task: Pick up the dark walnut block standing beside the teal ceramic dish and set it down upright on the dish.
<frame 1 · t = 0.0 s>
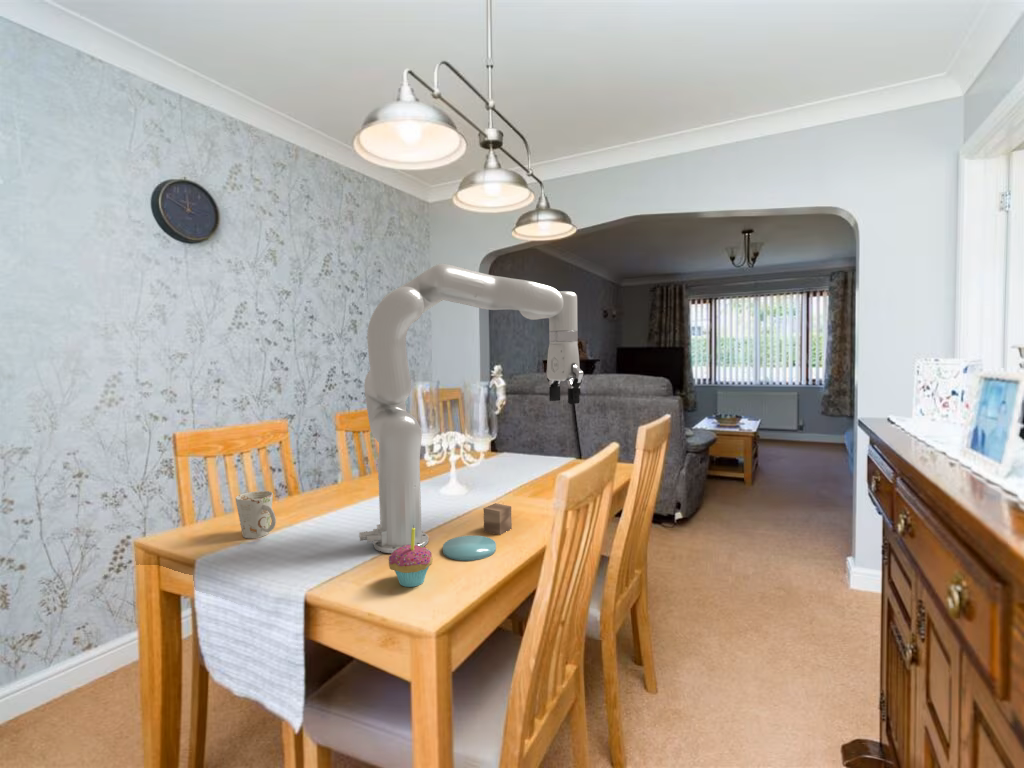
hand: (564, 402, 138), 31 cm above the table, tool pointing down, fingers open, 9 cm apart
teal dish: (469, 550, 117), on the table
mug: (261, 536, 128), on the table
cupcake: (411, 582, 101), on the table
walnut block: (497, 530, 129), on the table
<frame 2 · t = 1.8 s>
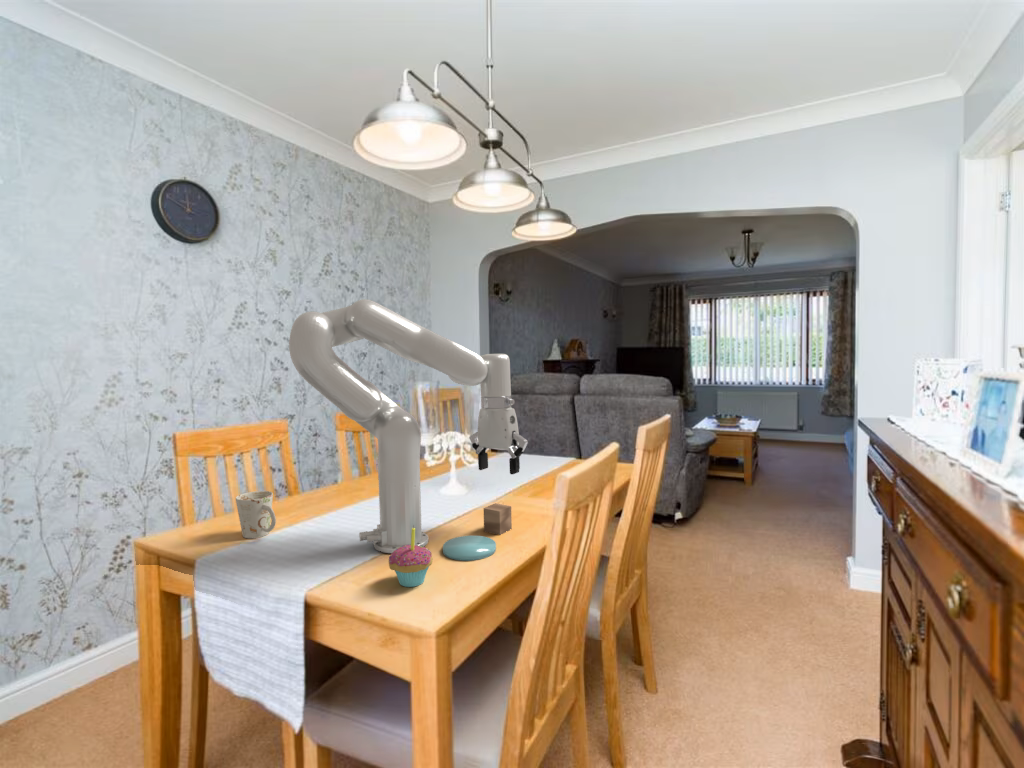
hand: (498, 471, 129), 15 cm above the table, tool pointing down, fingers open, 9 cm apart
nothing on the table moved.
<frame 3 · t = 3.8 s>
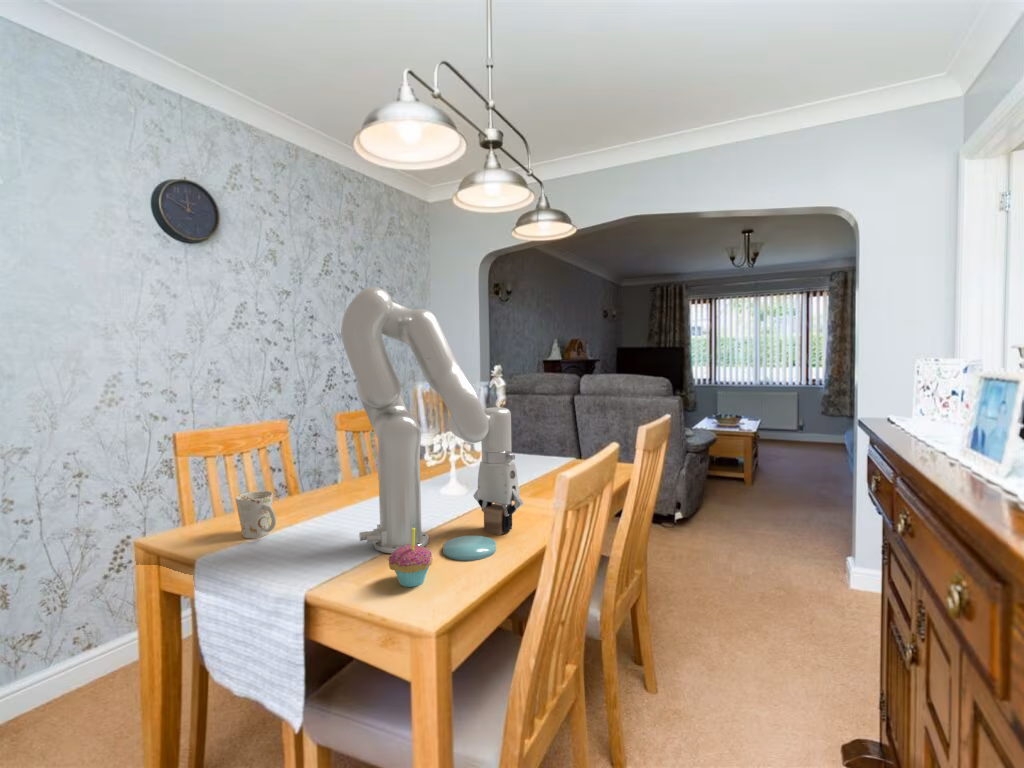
hand: (498, 527, 129), 1 cm above the table, tool pointing down, fingers closed on walnut block, 5 cm apart
walnut block: (498, 530, 129), on the table, touching gripper
everything else where it was.
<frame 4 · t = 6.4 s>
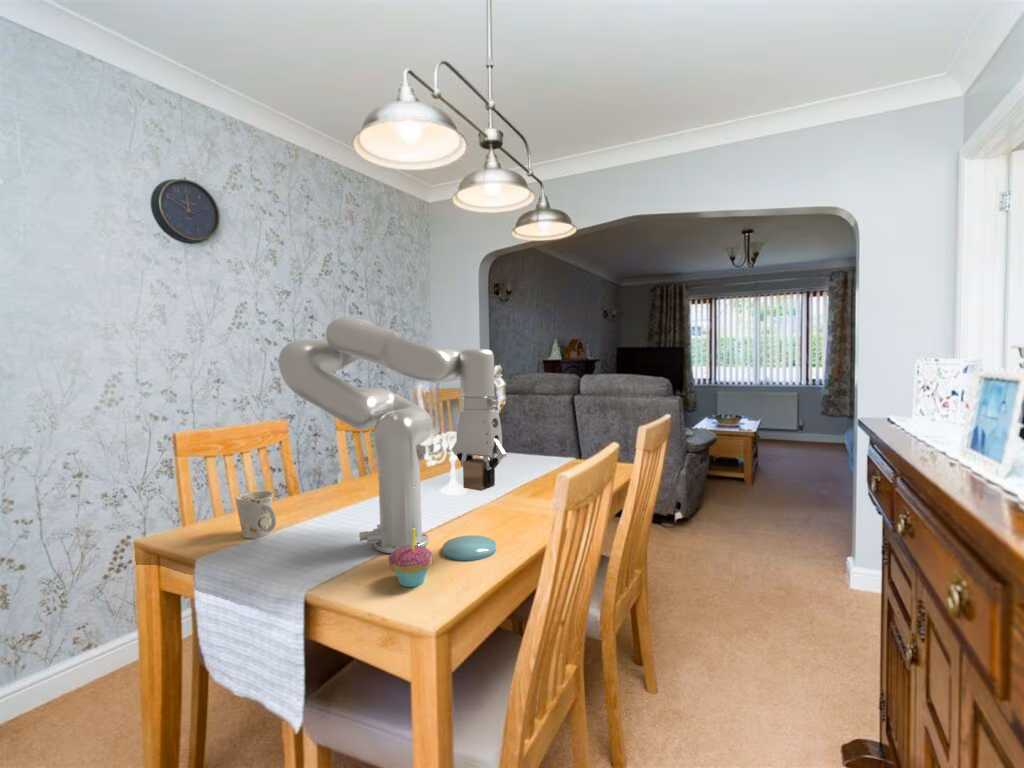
hand: (479, 483, 115), 15 cm above the table, tool pointing down, fingers closed on walnut block, 5 cm apart
walnut block: (479, 486, 115), point 15 cm above the table, touching gripper
everything else where it was.
when the fingers open (4 cm above the table, at t = 9.0 s): walnut block drops 2 cm, resting on teal dish.
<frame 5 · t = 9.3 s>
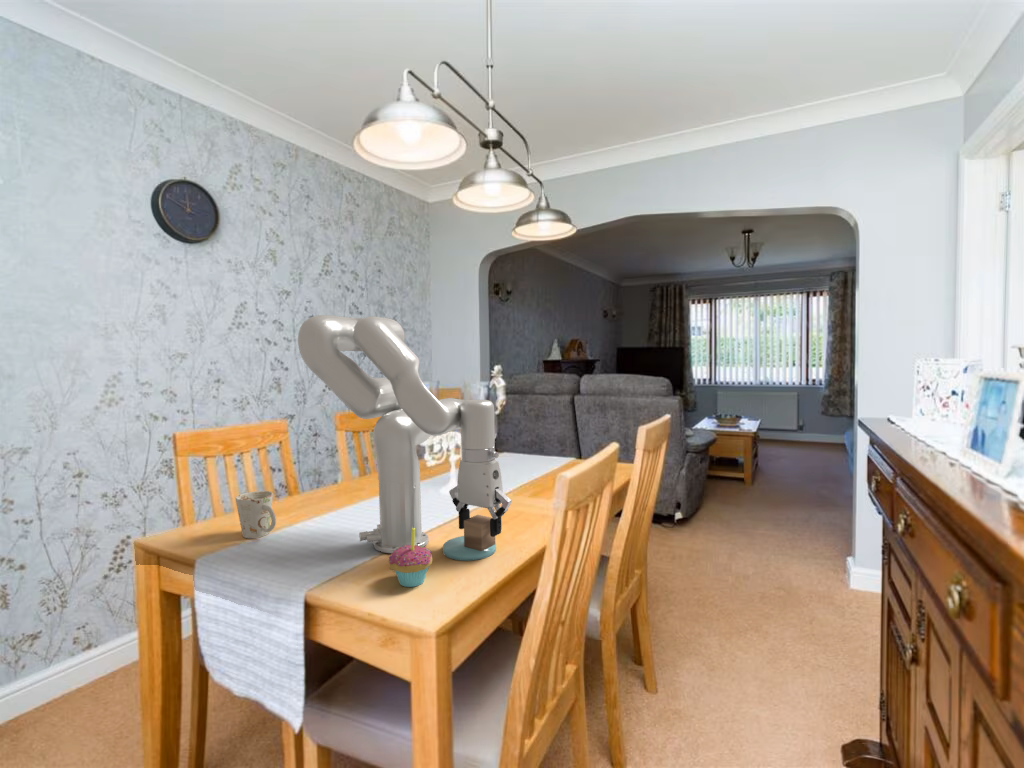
hand: (479, 530, 116), 5 cm above the table, tool pointing down, fingers open, 8 cm apart
walnut block: (479, 545, 116), point 1 cm above the table, touching teal dish
everything else where it was.
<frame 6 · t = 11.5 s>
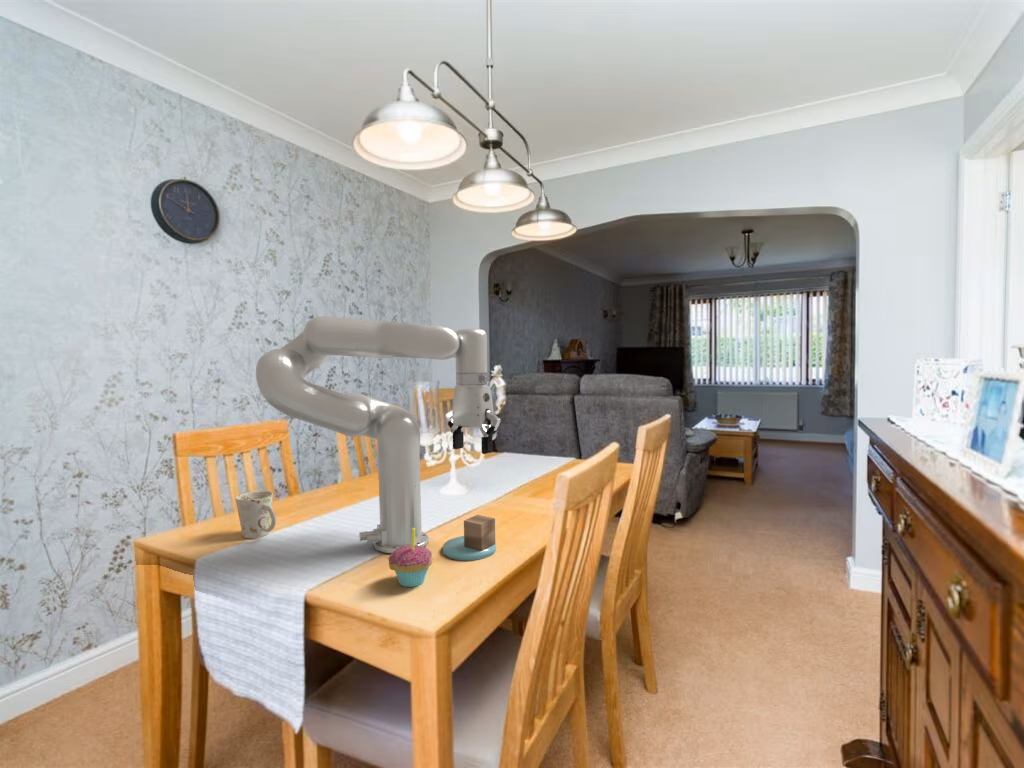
hand: (472, 450, 124), 21 cm above the table, tool pointing down, fingers open, 9 cm apart
nothing on the table moved.
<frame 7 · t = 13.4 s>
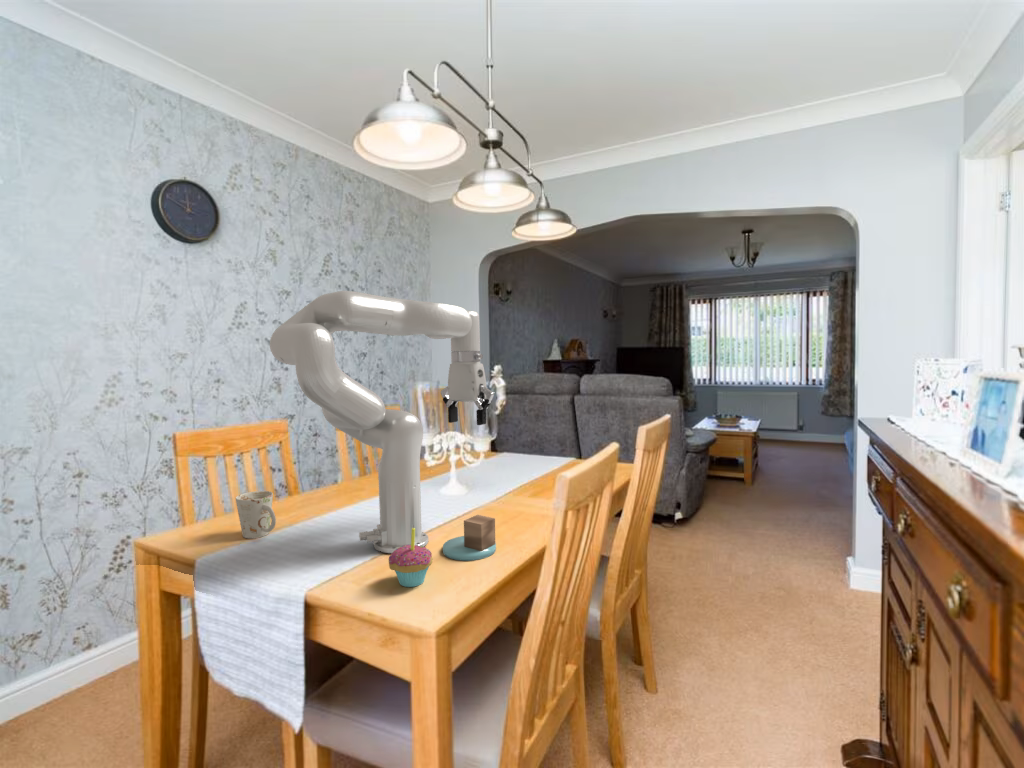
hand: (467, 423, 135), 26 cm above the table, tool pointing down, fingers open, 9 cm apart
nothing on the table moved.
at the end: walnut block 2.5 cm from the teal dish (horizontally); walnut block point 1.2 cm above the table; walnut block tilted 0° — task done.
